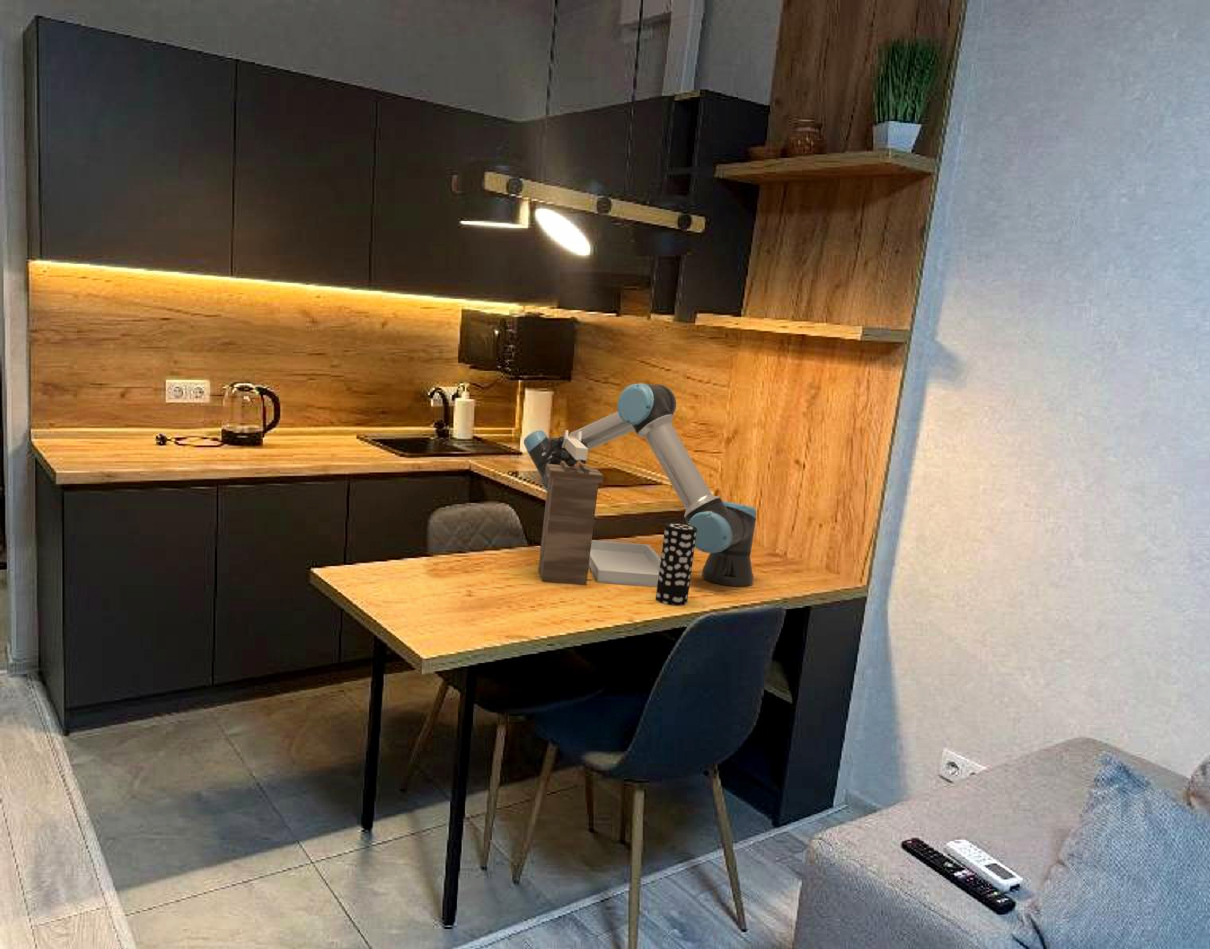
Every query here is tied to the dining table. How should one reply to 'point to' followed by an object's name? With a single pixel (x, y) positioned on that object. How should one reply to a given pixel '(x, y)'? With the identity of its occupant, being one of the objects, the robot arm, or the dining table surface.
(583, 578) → the stand
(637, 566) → the tray
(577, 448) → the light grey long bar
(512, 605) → the dining table surface
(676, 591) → the spotted tube
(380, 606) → the dining table surface
